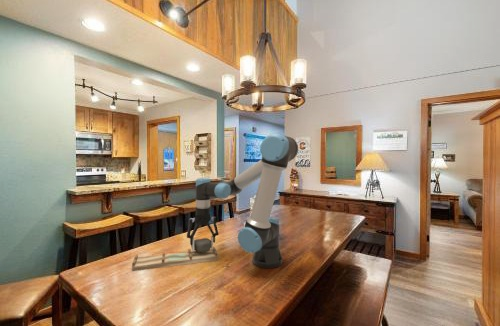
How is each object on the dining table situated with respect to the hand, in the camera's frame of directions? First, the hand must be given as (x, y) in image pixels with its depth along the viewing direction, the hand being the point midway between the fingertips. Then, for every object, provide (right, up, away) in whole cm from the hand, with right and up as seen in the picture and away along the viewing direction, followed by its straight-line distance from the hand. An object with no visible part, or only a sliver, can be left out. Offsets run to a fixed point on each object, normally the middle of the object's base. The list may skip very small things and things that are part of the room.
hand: (202, 249), depth 125 cm
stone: (-1, -1, +3) cm, 3 cm away
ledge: (-12, -4, -4) cm, 14 cm away
